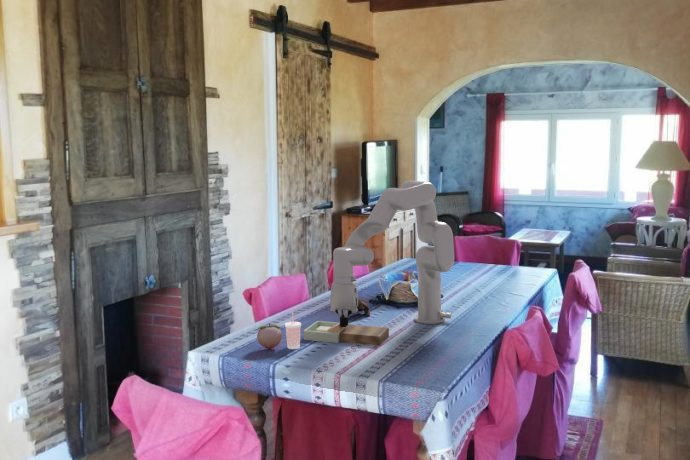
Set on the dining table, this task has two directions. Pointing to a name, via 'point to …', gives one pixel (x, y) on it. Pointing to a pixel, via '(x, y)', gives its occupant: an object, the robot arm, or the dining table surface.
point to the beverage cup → (293, 334)
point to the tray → (314, 335)
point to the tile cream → (322, 329)
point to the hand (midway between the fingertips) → (344, 326)
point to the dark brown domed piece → (362, 308)
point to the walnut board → (364, 335)
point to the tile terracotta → (335, 328)
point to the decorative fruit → (269, 336)
